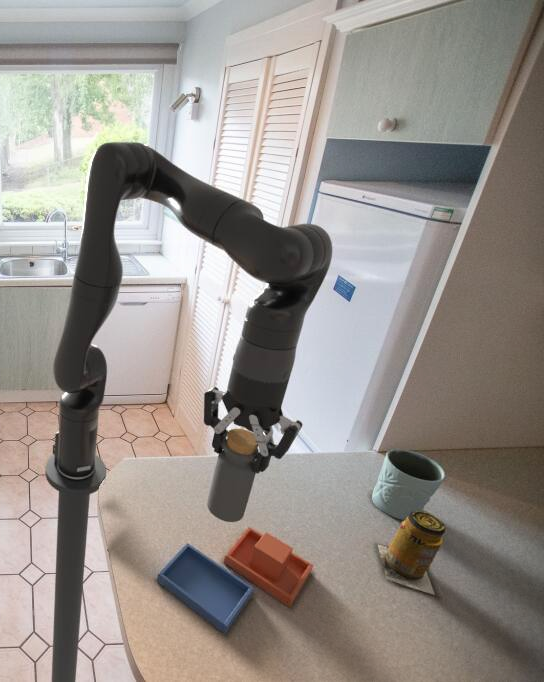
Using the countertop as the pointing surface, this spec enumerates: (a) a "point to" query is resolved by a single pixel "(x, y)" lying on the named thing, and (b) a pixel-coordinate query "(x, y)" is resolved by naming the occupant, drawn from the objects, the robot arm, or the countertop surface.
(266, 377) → the robot arm
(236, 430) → the bottle
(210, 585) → the blue tray
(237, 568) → the terracotta tray
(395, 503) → the light teal planter pot
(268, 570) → the block
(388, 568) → the condiment
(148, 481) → the countertop surface
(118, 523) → the countertop surface
